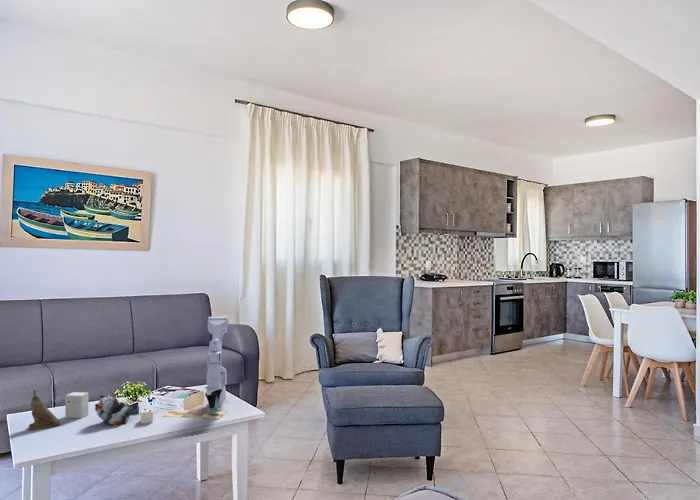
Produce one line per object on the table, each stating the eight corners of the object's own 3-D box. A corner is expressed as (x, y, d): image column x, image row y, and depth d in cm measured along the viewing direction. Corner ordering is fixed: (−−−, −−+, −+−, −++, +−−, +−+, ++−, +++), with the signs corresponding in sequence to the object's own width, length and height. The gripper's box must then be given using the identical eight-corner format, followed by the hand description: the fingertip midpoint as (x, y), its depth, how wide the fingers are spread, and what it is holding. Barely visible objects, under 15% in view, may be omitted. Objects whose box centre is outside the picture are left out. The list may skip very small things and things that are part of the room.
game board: (173, 409, 245) (173, 408, 245) (227, 411, 243) (227, 410, 243) (161, 417, 233) (161, 416, 233) (218, 419, 231) (218, 418, 231)
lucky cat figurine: (124, 426, 219) (107, 401, 216) (100, 436, 221) (83, 410, 217) (138, 407, 234) (123, 382, 231) (116, 416, 235) (100, 392, 232)
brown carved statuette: (29, 436, 214) (19, 396, 213) (30, 432, 219) (20, 392, 217) (60, 426, 219) (51, 387, 218) (61, 422, 224) (52, 384, 223)
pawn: (209, 409, 241) (209, 391, 241) (221, 409, 240) (221, 391, 240) (205, 412, 235) (205, 394, 235) (217, 412, 234) (217, 394, 235)
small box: (88, 415, 236) (89, 392, 236) (81, 418, 230) (81, 395, 231) (72, 414, 237) (73, 391, 237) (64, 418, 231) (65, 395, 231)
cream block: (142, 420, 228) (142, 408, 229) (153, 419, 230) (154, 407, 230) (140, 423, 224) (140, 411, 224) (152, 423, 225) (152, 410, 225)
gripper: (211, 373, 245) (210, 401, 245) (200, 381, 231) (199, 410, 231) (225, 374, 245) (225, 402, 245) (214, 381, 230) (214, 411, 230)
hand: (213, 406), depth 238 cm, fingers closed on pawn, 4 cm apart
